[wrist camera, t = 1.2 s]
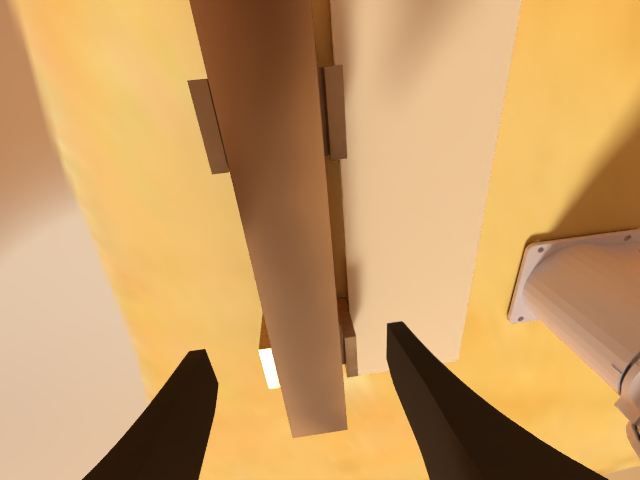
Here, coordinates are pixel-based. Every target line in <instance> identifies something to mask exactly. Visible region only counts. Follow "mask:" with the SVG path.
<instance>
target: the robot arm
mask: <svg viewBox="0 0 640 480" xmlns="http://www.w3.org/2000/svg"><path fill="white" fill-rule="evenodd" d="M539 248H540V249H539ZM507 320H508V321H509V322H510V323H512V324H515V323H522V322H529V321H536V320H540V321H541V322H542V323H543V324H544V325H545V326H546V327H547V328H548V329H549V330H550V331H552V332H553V333H554V334H555V335H556V336H557V337H558V338H559V339H560V340H561V341H562V342H563V343H564V344H565V345H566V346H567V347H569V348H570V349H571V350H572V351H573V352H574V353H575V354H576V355H577V356H578V357H579V358H580V359H581V360H582V361H583V362H585V363H586V364H587V365H588V366H589V367H590V368H591V369H592V370H593V371H594V372H595V373H596V374H597V375H598V376H599V377H600V378H602V379H603V380H604V381H605V382H606V383H607V384H608V385H609V386H610V387H611V388H612V389H613V390H614V391H615V392H616V393H617V394H619V395H620V398H619V399H618V401H617V402H616V403H615V407H616V408H618V409H619V410H620V411H621V412H622V413H623V414H624V415H625V416H626V417H627V418H628V419H629V422H628V424H627V426H626V433H627V437H628V439H629V441H630V444H631V446H632V448H633V449H634V451H635V452H636V454H637V456H638V458H639V459H640V229H634V230H626V231H619V232H611V233H604V234H596V235H589V236H581V237H574V238H566V239H558V240H551V241H543V242H536V243H531V244H529V245H528V246H527V247H526V249H525V252H524V256H523V260H522V264H521V268H520V271H519V275H518V279H517V283H516V287H515V290H514V294H513V298H512V302H511V306H510V309H509V313H508V317H507ZM386 360H387V363H388V367H389V370H390V374H391V377H392V380H393V384H394V386H395V389H396V391H397V394H398V396H399V399H400V401H401V404H402V406H403V409H404V411H405V413H406V416H407V418H408V421H409V423H410V426H411V428H412V430H413V433H414V435H415V438H416V440H417V443H418V445H419V448H420V451H421V453H422V456H423V459H424V462H425V466H426V469H427V472H428V475H429V478H430V480H608V479H607V478H605V477H603V476H601V475H600V474H598V473H596V472H594V471H592V470H591V469H589V468H587V467H585V466H584V465H582V464H580V463H578V462H577V461H575V460H573V459H571V458H569V457H568V456H566V455H564V454H563V453H561V452H559V451H558V450H556V449H554V448H553V447H551V446H550V445H548V444H546V443H545V442H543V441H542V440H540V439H538V438H537V437H535V436H534V435H533V434H531V433H530V432H528V431H527V430H525V429H524V428H522V427H521V426H519V425H518V424H516V423H515V422H513V421H512V420H511V419H509V418H508V417H506V416H505V415H503V414H502V413H501V412H499V411H498V410H497V409H495V408H494V407H493V406H491V405H490V404H489V403H488V402H486V401H485V400H484V399H482V398H481V397H480V396H479V395H477V394H476V393H475V392H474V391H473V390H471V389H470V388H469V387H468V386H467V385H466V384H464V383H463V382H462V381H461V380H460V379H459V378H458V377H456V376H455V375H454V374H453V373H452V372H451V371H450V370H449V369H448V368H447V367H446V366H445V365H444V364H443V363H442V362H440V361H439V360H438V359H437V358H436V357H435V356H434V355H433V354H432V353H431V352H430V351H429V350H428V349H427V347H426V346H425V345H424V344H423V343H422V342H421V341H420V340H419V339H418V338H417V337H416V336H415V335H414V333H413V332H412V331H411V330H410V329H409V328H408V327H407V325H406V324H405V323H404V322H402V321H399V322H392V323H387V348H386ZM217 392H218V381H217V379H216V376H215V374H214V371H213V368H212V366H211V363H210V360H209V358H208V355H207V353H206V350H205V349H202V350H195V351H189V352H188V354H187V355H186V356H185V358H184V359H183V360H182V362H181V363H180V364H179V366H178V367H177V368H176V370H175V371H174V373H173V374H172V375H171V377H170V378H169V379H168V381H167V382H166V383H165V385H164V386H163V387H162V389H161V390H160V391H159V393H158V394H157V395H156V397H155V398H154V399H153V400H152V402H151V403H150V404H149V406H148V407H147V408H146V409H145V411H144V412H143V413H142V414H141V416H140V417H139V418H138V419H137V420H136V421H135V423H134V424H133V425H132V426H131V428H130V429H129V430H128V431H127V432H126V434H125V435H124V436H123V437H122V438H121V439H120V440H119V441H118V443H117V444H116V445H115V446H114V447H113V448H112V449H111V450H110V451H109V452H108V454H107V455H106V456H105V457H104V458H103V459H102V460H101V461H100V462H99V463H98V464H97V465H96V466H95V467H94V468H93V469H92V470H91V471H90V472H89V473H88V474H87V475H86V476H85V477H84V478H83V479H82V480H198V479H199V475H200V471H201V467H202V463H203V459H204V455H205V451H206V447H207V442H208V438H209V434H210V430H211V426H212V422H213V418H214V413H215V408H216V400H217Z"/></svg>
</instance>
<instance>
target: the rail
mask: <svg viewBox="0 0 640 480" xmlns="http://www.w3.org/2000/svg"><path fill="white" fill-rule="evenodd" d="M189 1H190V5H191V9H192V14H193V18H194V22H195V26H196V30H197V35H198V39H199V43H200V47H201V52H202V56H203V60H204V64H205V69H206V73H207V77H208V81H209V85H210V90H211V94H212V98H213V102H214V107H215V111H216V115H217V119H218V124H219V128H220V132H221V136H222V140H223V145H224V149H225V153H226V157H227V162H228V166H229V170H230V174H231V179H232V183H233V187H234V191H235V196H236V200H237V204H238V208H239V212H240V217H241V221H242V225H243V229H244V234H245V238H246V242H247V246H248V251H249V255H250V259H251V263H252V267H253V272H254V276H255V280H256V284H257V289H258V293H259V297H260V301H261V306H262V310H263V314H264V318H265V322H266V327H267V331H268V335H269V339H270V344H271V348H272V352H273V356H274V361H275V365H276V369H277V373H278V377H279V382H280V386H281V390H282V394H283V399H284V403H285V407H286V411H287V416H288V420H289V424H290V428H291V433H292V437H293V438H296V437H303V436H309V435H316V434H322V433H329V432H335V431H341V430H348V429H347V417H346V405H345V393H344V382H343V370H342V358H341V346H340V334H339V323H338V311H337V299H336V287H335V275H334V264H333V252H332V240H331V228H330V216H329V205H328V193H327V181H326V169H325V157H324V146H323V134H322V122H321V110H320V98H319V87H318V75H317V63H316V51H315V40H314V28H313V16H312V4H311V0H189Z"/></svg>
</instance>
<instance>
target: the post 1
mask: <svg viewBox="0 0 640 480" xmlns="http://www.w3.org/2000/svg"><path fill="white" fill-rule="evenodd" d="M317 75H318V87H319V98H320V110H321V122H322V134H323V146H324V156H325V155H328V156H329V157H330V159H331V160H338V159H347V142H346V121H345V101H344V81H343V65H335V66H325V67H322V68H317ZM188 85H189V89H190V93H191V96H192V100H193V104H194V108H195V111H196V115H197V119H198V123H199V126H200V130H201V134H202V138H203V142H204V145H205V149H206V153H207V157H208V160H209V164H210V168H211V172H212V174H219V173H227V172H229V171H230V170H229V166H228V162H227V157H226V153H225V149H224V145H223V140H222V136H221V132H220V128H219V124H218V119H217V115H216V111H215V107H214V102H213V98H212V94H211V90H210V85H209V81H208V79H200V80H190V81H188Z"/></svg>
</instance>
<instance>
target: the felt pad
mask: <svg viewBox="0 0 640 480" xmlns="http://www.w3.org/2000/svg"><path fill="white" fill-rule="evenodd" d="M521 2H522V0H330V14H331V30H332V46H333V62H334V66H335V65H343V81H344V101H345V121H346V142H347V159H339V160H340V176H341V192H342V208H343V224H344V240H345V257H346V273H347V289H348V305H349V312H350V316H351V319H352V323H353V327H354V330H355V334H356V343H357V363H358V375H365V374H372V373H379V372H386V371H390V370H389V367H388V363H387V360H386V348H387V323H392V322H399V321H402V322H404V323H405V324H406V325H407V327H408V328H409V329H410V330H411V331H412V332H413V333H414V335H415V336H416V337H417V338H418V339H419V340H420V341H421V342H422V343H423V344H424V345H425V346H426V347H427V349H428V350H429V351H430V352H431V353H432V354H433V355H434V356H435V357H436V358H437V359H438V360H439V361H440V362H442V363H446V362H453V361H458V358H459V352H460V347H461V341H462V335H463V330H464V324H465V318H466V313H467V307H468V301H469V296H470V290H471V284H472V279H473V273H474V268H475V262H476V256H477V251H478V245H479V239H480V234H481V228H482V222H483V217H484V211H485V205H486V200H487V194H488V189H489V183H490V177H491V172H492V166H493V160H494V155H495V149H496V143H497V138H498V132H499V127H500V121H501V115H502V110H503V104H504V98H505V93H506V87H507V81H508V76H509V70H510V64H511V59H512V53H513V48H514V42H515V36H516V31H517V25H518V19H519V14H520V8H521Z"/></svg>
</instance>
